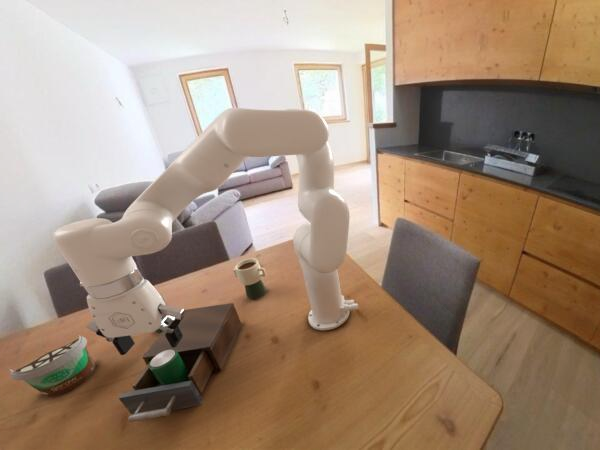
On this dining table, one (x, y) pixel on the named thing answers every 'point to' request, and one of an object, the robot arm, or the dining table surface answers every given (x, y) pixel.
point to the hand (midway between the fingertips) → (153, 345)
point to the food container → (58, 369)
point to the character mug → (251, 277)
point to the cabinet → (203, 333)
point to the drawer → (168, 389)
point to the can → (169, 368)
